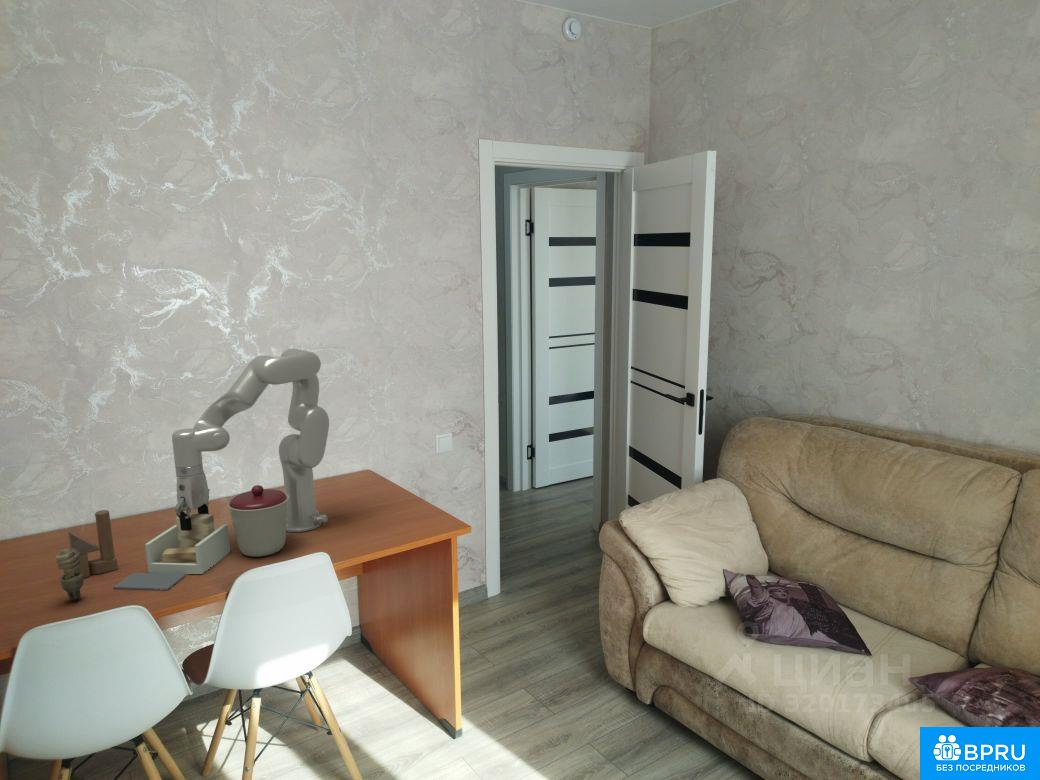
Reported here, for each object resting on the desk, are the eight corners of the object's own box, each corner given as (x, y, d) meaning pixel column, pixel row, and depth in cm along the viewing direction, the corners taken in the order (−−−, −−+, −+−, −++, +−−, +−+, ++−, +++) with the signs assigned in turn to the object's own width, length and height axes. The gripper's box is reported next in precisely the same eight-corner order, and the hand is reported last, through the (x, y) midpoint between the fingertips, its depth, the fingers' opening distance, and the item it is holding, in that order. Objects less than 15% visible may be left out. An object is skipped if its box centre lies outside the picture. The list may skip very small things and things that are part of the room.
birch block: (217, 554, 225) (213, 514, 223) (211, 559, 222) (207, 518, 219) (186, 553, 226) (182, 513, 224) (180, 558, 223) (175, 517, 220)
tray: (230, 551, 227) (227, 524, 225) (201, 575, 211) (198, 545, 209) (180, 550, 229) (177, 523, 227) (148, 573, 212) (144, 544, 211)
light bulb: (80, 605, 194) (72, 552, 191) (58, 606, 193) (50, 553, 190) (90, 595, 199) (82, 543, 196) (69, 596, 199) (61, 544, 196)
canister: (287, 535, 239) (282, 473, 235) (298, 554, 223) (292, 489, 220) (228, 546, 231) (222, 482, 227) (235, 567, 215) (228, 499, 211)
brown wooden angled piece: (74, 576, 212) (65, 517, 208) (115, 565, 218) (108, 508, 215) (76, 580, 209) (67, 520, 205) (118, 569, 215) (110, 511, 212)
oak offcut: (202, 556, 218) (201, 546, 217) (199, 561, 214) (197, 551, 213) (167, 558, 216) (166, 549, 216) (163, 564, 213) (161, 554, 212)
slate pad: (185, 576, 210) (185, 574, 210) (167, 590, 201) (167, 588, 201) (133, 574, 212) (133, 572, 212) (113, 588, 203) (113, 586, 203)
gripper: (185, 479, 210) (191, 535, 213) (216, 462, 227) (221, 514, 230) (160, 478, 211) (167, 534, 214) (193, 461, 228) (199, 514, 231)
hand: (195, 524), depth 222 cm, fingers open, 9 cm apart
